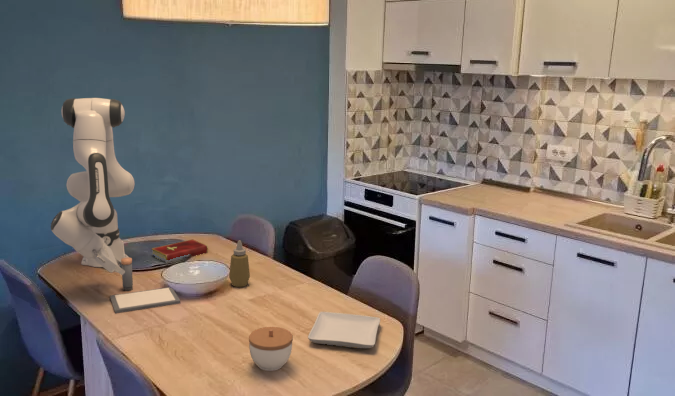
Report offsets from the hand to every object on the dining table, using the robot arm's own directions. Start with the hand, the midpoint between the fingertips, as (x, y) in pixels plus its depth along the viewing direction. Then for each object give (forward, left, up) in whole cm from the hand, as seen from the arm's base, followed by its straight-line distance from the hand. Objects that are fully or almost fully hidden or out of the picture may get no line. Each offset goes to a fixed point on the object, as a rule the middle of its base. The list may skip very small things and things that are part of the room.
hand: (121, 268), depth 219 cm
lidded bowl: (+73, +31, -9) cm, 80 cm away
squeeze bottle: (+11, +42, -9) cm, 44 cm away
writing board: (+13, +6, -8) cm, 16 cm away
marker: (0, +2, -9) cm, 9 cm away
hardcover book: (-33, +29, -9) cm, 44 cm away
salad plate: (+65, +60, -9) cm, 89 cm away
